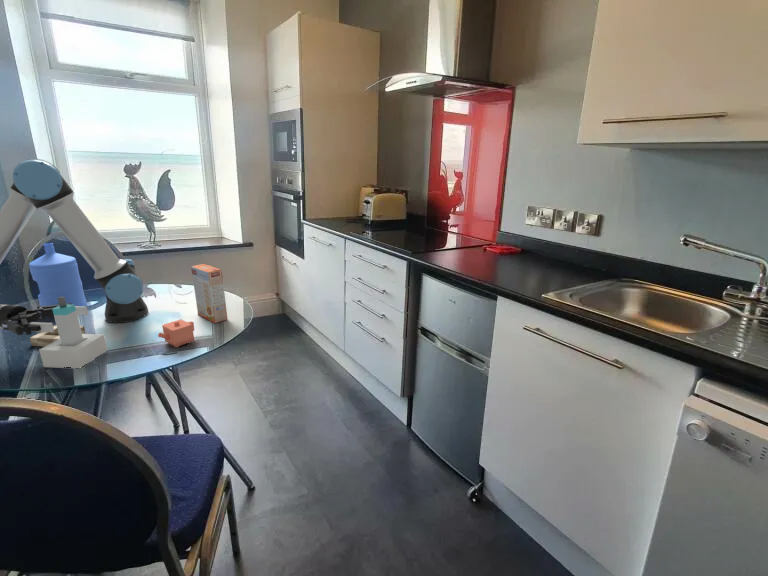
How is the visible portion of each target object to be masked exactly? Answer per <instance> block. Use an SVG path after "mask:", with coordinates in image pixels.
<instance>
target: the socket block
mask: <svg viewBox="0 0 768 576" xmlns="http://www.w3.org/2000/svg"><path fill="white" fill-rule="evenodd" d="M82 336H83V340H84V341H83V342H81V343H79V344H78V345H76V346H62V344H61V340H60V339H58V340H57V341H55V342H53V343H51V344H49V345H47V346H42V348H39V349H38V351H39V353H40V357H41V360H42V364H43V367H44V368H55V369H56V368H58V369H59V368H60V369H67V368H66V367H71V368H70V369H76V368H80V367H82V366H83V365H85V364H87V363H88V362H89V361H91V360H92V359H94V358H96V357H97V356H99V355H101V354H102V353H104V352H105V351H107V350H108V347H107V343H106V337H105V334H101V333H100V334H99V333H97V334H96V333H95V334H94V333H86V334H82ZM107 352H108V351H107ZM105 353H106V352H105ZM105 353H104V354H105ZM102 355H103V354H102ZM102 355H101V356H102ZM99 357H100V356H99ZM96 359H97V358H96ZM94 360H95V359H94ZM91 362H92V361H91ZM88 364H89V363H88ZM88 364H87V365H88ZM85 366H86V365H85ZM64 367H65V368H64ZM82 368H83V367H82Z"/></svg>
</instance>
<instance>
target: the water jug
mask: <svg viewBox="0 0 768 576" xmlns="http://www.w3.org/2000/svg"><path fill="white" fill-rule="evenodd" d="M42 245H43V246H44V248H43V249H44V251H45V253H44V254H43V255H42V256H39V257H38V258H36V259H34V260H32V261H30V262H29V264H28V267H29V272H30V274H31V277H32V280H33V281H34V282H36V284H37V286H38V290H39V294H38V295H37V298H38V302H39V306H50V305H59V302H58V298H59V297H65V300H66V304H67V303H72V305H75V306H85V307H86V305H87V300H86V296H85V292H84V288H83V282H82V280H81V276H80V271H79V266H78V262H77V258H75V257H74V256H71V255H67V254H62V253H59V252H58V253H57V252H56V250H55V246H54V243H53V242H48V243H43V244H42Z"/></svg>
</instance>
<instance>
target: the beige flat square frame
mask: <svg viewBox="0 0 768 576" xmlns="http://www.w3.org/2000/svg"><path fill="white" fill-rule="evenodd" d="M53 328H54V332H39V333H37V334H35V335H32V336H31V337H29V340H30V344H31V347H45V346H47V345H49V344H51V343H53V342H55V341H57V340H58V339H60V336H59V333H58V329H57V325H56V324H55V325H53ZM80 328H81V332H82V334H87V332H86V329H85V328H86V327H85V326H84V325H80Z"/></svg>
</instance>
